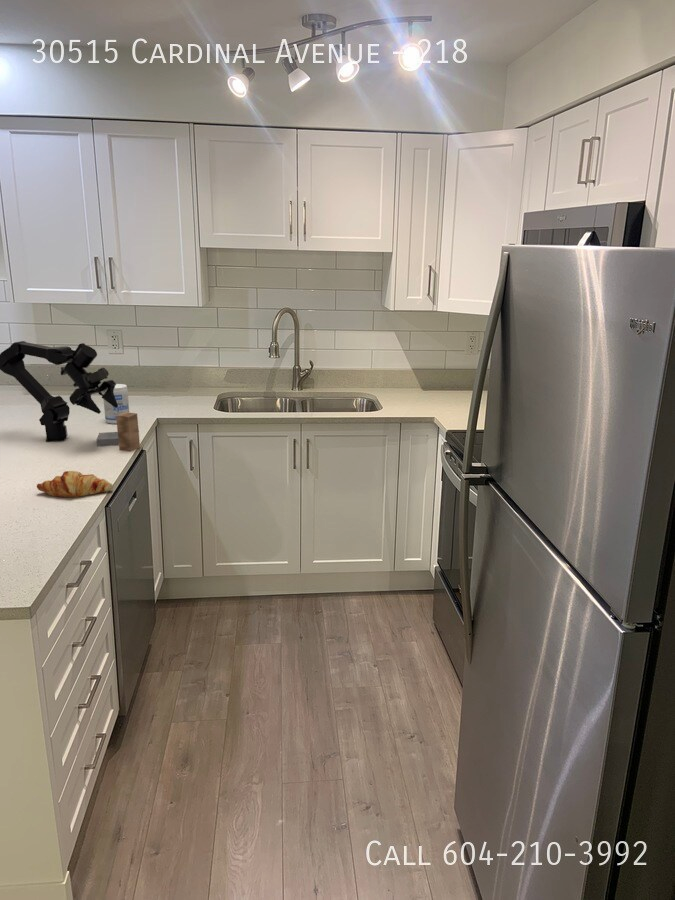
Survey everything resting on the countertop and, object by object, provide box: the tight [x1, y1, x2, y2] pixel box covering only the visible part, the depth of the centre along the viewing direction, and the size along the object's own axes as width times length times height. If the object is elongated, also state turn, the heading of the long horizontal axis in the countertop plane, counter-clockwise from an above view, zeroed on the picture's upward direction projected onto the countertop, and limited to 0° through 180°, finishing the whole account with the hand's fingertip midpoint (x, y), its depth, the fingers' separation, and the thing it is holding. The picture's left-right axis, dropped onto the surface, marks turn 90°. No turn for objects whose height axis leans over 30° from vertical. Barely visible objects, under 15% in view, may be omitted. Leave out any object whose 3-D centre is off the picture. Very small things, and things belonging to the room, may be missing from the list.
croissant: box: [36, 470, 114, 498], centre depth 189 cm, size 21×10×8 cm, turn 98°
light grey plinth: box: [96, 431, 119, 447], centre depth 238 cm, size 9×9×2 cm
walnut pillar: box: [116, 412, 141, 452], centre depth 228 cm, size 5×5×12 cm
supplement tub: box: [103, 383, 130, 425], centre depth 264 cm, size 10×10×15 cm
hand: (108, 409), depth 229 cm, fingers open, 9 cm apart
